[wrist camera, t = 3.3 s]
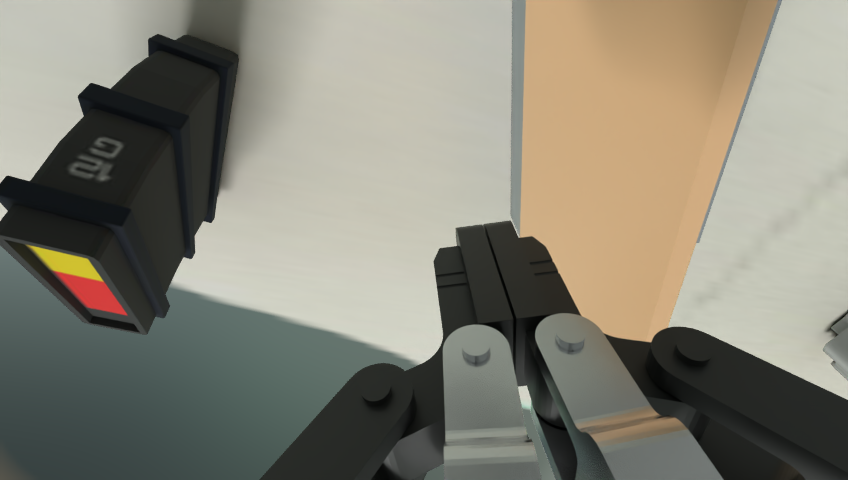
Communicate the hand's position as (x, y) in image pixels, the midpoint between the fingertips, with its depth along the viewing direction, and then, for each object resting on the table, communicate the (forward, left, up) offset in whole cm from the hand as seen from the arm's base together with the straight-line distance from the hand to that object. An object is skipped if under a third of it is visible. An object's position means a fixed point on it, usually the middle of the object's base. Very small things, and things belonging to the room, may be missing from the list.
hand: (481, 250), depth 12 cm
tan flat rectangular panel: (0, +6, -6) cm, 8 cm away
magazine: (+2, -15, -18) cm, 24 cm away
